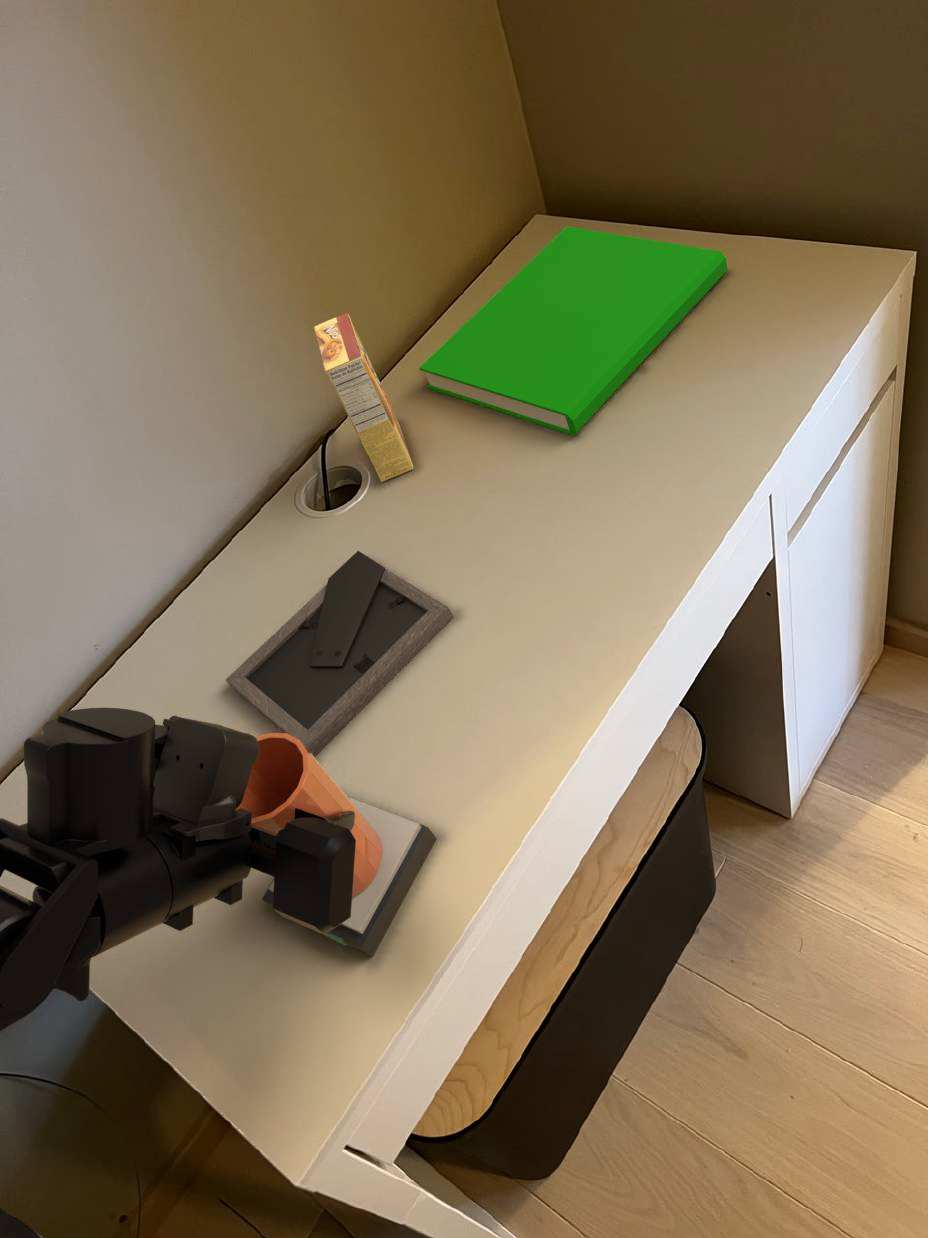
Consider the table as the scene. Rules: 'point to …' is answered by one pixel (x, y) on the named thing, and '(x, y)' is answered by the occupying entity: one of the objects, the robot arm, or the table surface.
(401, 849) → the scale
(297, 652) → the picture frame
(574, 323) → the book
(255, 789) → the cup
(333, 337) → the candy box
